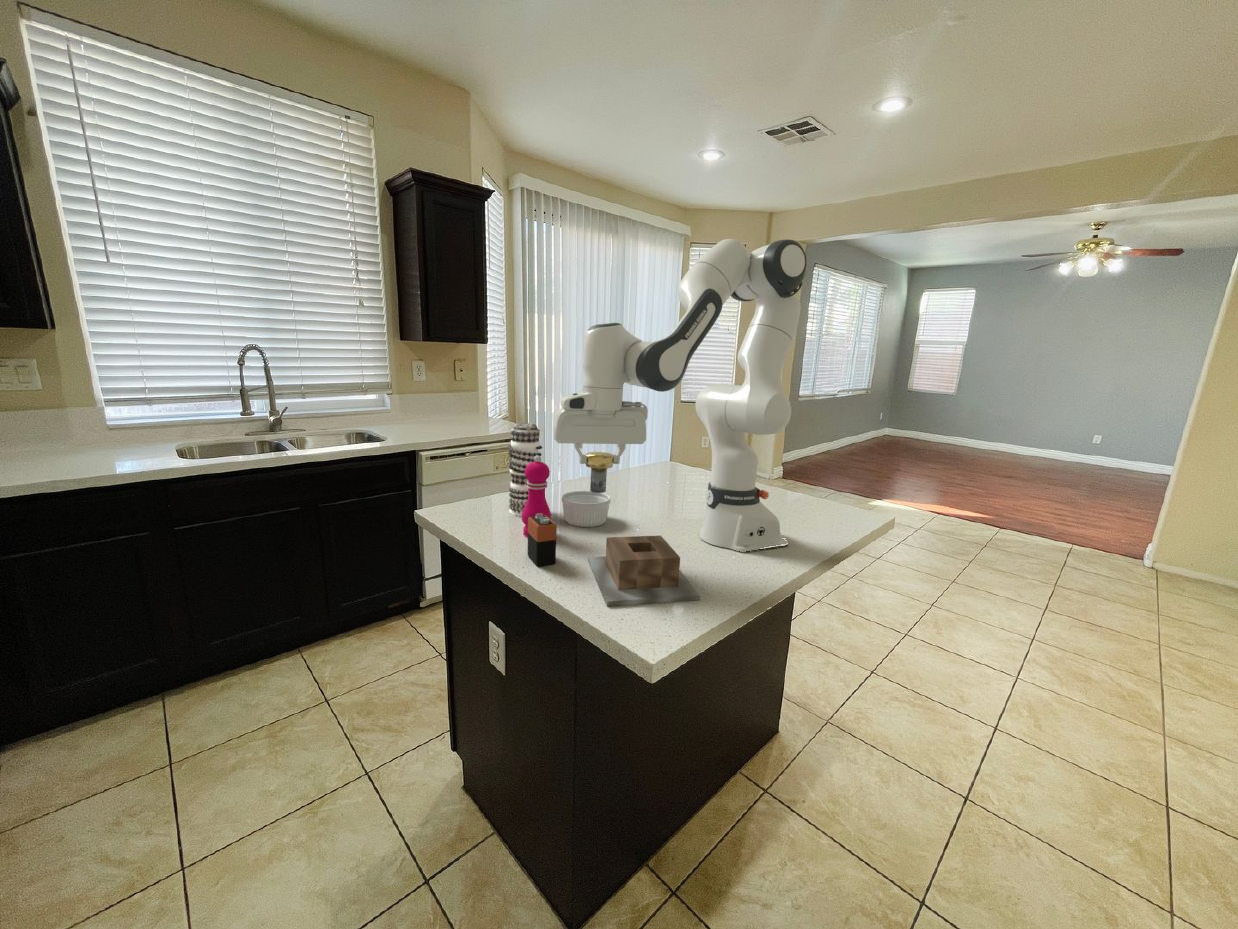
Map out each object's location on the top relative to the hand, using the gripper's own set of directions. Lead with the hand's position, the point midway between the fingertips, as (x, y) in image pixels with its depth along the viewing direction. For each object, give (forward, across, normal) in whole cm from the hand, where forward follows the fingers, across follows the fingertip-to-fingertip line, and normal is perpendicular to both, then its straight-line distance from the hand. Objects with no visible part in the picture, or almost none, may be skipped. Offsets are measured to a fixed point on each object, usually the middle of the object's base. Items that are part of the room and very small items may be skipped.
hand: (599, 463), depth 108 cm
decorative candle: (+21, +15, -31) cm, 40 cm away
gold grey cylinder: (+6, 0, 0) cm, 6 cm away
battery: (+21, +13, +3) cm, 25 cm away
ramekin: (+21, -1, -22) cm, 31 cm away
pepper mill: (+21, +13, -13) cm, 28 cm away
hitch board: (+21, -6, +15) cm, 27 cm away
